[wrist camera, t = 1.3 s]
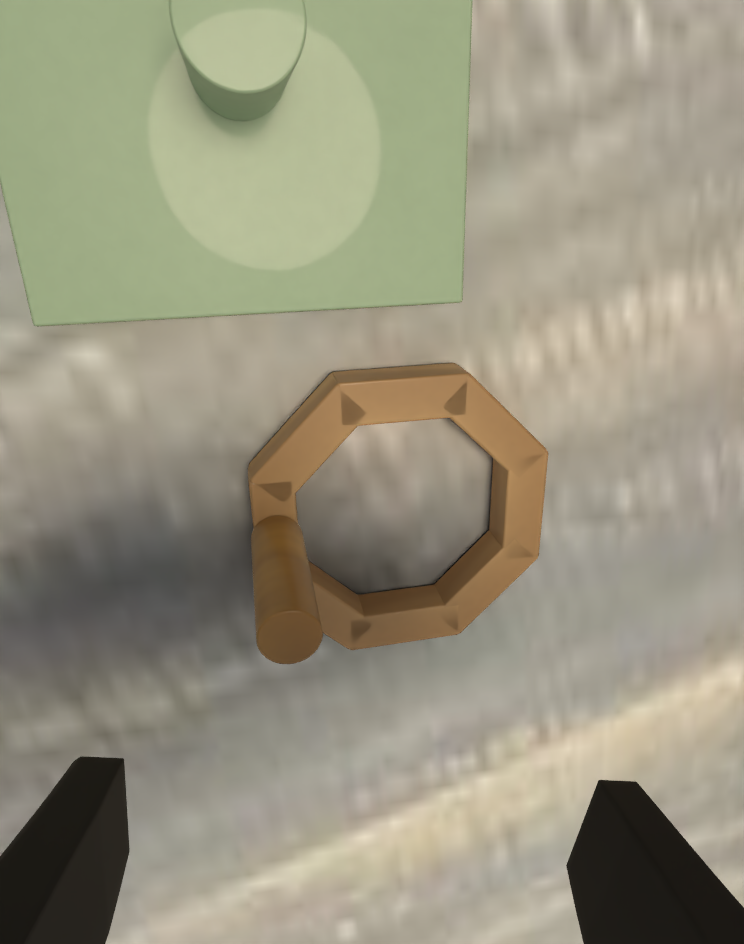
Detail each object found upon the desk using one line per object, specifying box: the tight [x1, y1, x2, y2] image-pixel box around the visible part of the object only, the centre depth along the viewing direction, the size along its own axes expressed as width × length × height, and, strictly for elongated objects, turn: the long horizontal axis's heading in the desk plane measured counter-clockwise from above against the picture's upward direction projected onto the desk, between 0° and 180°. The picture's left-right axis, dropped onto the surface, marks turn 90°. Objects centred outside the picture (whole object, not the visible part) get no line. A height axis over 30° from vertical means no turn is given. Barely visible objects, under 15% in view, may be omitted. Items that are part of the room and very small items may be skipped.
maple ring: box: [248, 363, 548, 664], centre depth 17 cm, size 8×8×6 cm
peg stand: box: [0, 0, 472, 326], centre depth 12 cm, size 10×10×5 cm
